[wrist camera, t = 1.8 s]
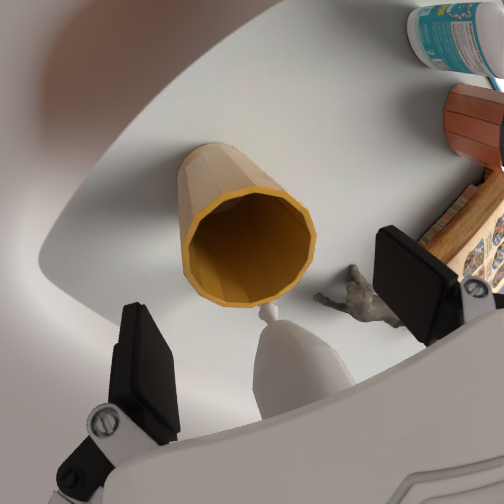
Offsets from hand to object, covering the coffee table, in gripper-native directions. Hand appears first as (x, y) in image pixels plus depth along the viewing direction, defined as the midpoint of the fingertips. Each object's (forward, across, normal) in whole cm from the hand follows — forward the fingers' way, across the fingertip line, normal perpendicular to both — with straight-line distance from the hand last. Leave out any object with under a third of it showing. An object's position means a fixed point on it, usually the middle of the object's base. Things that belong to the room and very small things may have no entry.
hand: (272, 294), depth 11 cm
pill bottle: (+14, -24, -12) cm, 31 cm away
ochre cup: (+14, 0, -1) cm, 14 cm away
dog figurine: (+15, -13, +15) cm, 25 cm away
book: (+15, -38, +17) cm, 44 cm away
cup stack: (+14, -31, -3) cm, 34 cm away
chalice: (+15, -1, +8) cm, 17 cm away
